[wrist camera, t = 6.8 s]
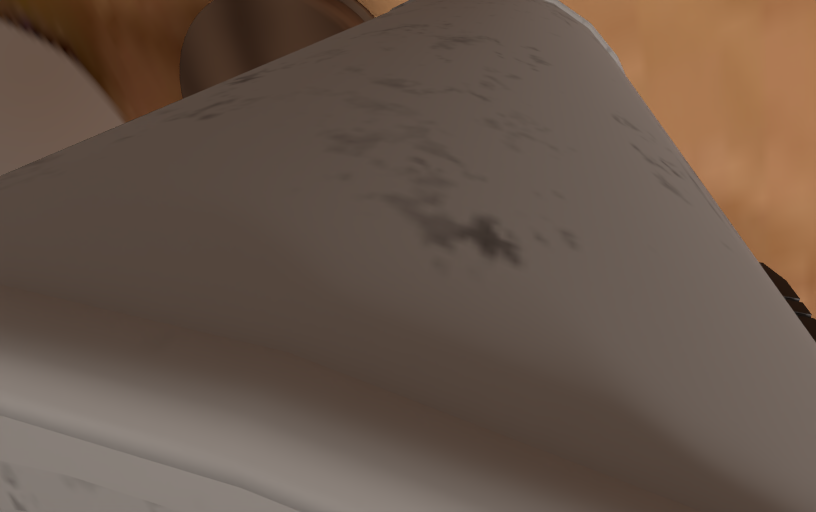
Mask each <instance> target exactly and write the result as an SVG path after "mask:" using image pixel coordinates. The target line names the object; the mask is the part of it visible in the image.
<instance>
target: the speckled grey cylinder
mask: <svg viewBox="0 0 816 512" xmlns="http://www.w3.org/2000/svg"><path fill="white" fill-rule="evenodd" d="M0 512H816V342H815V341H814V339H813V338H812V336H811V335H810V334H809V332H808V331H807V329H806V328H805V327H804V325H803V324H802V322H801V321H800V320H799V318H798V317H797V315H796V314H795V313H794V311H793V310H792V308H791V307H790V306H789V304H788V303H787V301H786V300H785V299H784V297H783V296H782V294H781V293H780V292H779V290H778V289H777V287H776V286H775V285H774V283H773V282H772V280H771V279H770V278H769V276H768V275H767V273H766V272H765V271H764V269H763V268H762V266H761V265H760V263H759V262H758V261H757V259H756V258H755V256H754V255H753V254H752V252H751V251H750V249H749V248H748V247H747V245H746V244H745V242H744V241H743V240H742V238H741V237H740V235H739V234H738V233H737V231H736V230H735V228H734V227H733V226H732V224H731V223H730V221H729V220H728V219H727V217H726V216H725V214H724V213H723V212H722V210H721V209H720V207H719V206H718V205H717V203H716V202H715V200H714V199H713V198H712V196H711V195H710V193H709V192H708V191H707V189H706V188H705V186H704V185H703V184H702V182H701V181H700V179H699V178H698V176H697V175H696V174H695V172H694V171H693V169H692V168H691V167H690V165H689V164H688V162H687V161H686V160H685V158H684V157H683V155H682V154H681V153H680V151H679V150H678V148H677V147H676V146H675V144H674V143H673V141H672V140H671V139H670V137H669V136H668V134H667V133H666V132H665V130H664V129H663V127H662V126H661V125H660V123H659V122H658V120H657V119H656V118H655V116H654V115H653V113H652V112H651V111H650V109H649V108H648V106H647V105H646V104H645V102H644V101H643V99H642V98H641V96H640V95H639V94H638V92H637V91H636V89H635V88H634V87H633V85H632V84H631V82H630V81H629V80H628V78H627V77H626V75H625V73H624V70H623V68H622V66H621V63H620V61H619V59H618V56H617V55H616V54H615V53H614V51H613V50H612V49H611V48H610V46H609V45H608V44H607V43H606V42H605V40H604V39H603V38H602V37H601V35H600V34H599V33H598V32H597V30H596V29H595V28H594V27H593V25H592V24H591V23H590V22H588V21H587V20H585V19H584V18H583V17H581V16H580V15H578V14H577V13H575V12H574V11H573V10H571V9H570V8H568V7H567V6H565V5H564V4H563V3H561V2H560V1H558V0H409V1H407V2H405V3H403V4H401V5H399V6H397V7H395V8H393V9H392V10H390V11H389V12H388V13H385V14H383V15H380V16H378V17H376V18H373V19H371V20H369V21H366V22H364V23H362V24H359V25H357V26H354V27H352V28H350V29H347V30H345V31H343V32H340V33H338V34H335V35H333V36H331V37H328V38H326V39H324V40H321V41H319V42H317V43H314V44H312V45H309V46H307V47H305V48H302V49H300V50H298V51H295V52H293V53H290V54H288V55H286V56H283V57H281V58H279V59H276V60H274V61H271V62H269V63H267V64H264V65H262V66H260V67H257V68H255V69H253V70H250V71H248V72H245V73H243V74H241V75H238V76H236V77H234V78H231V79H229V80H226V81H224V82H222V83H219V84H217V85H215V86H212V87H210V88H208V89H205V90H203V91H200V92H198V93H196V94H193V95H191V96H189V97H186V98H184V99H181V100H179V101H177V102H174V103H172V104H170V105H167V106H165V107H163V108H160V109H158V110H155V111H153V112H151V113H148V114H146V115H144V116H141V117H139V118H136V119H134V120H132V121H129V122H127V123H125V124H122V125H120V126H118V127H115V128H113V129H110V130H108V131H106V132H103V133H101V134H99V135H96V136H94V137H91V138H89V139H87V140H84V141H82V142H80V143H77V144H75V145H72V146H70V147H68V148H65V149H63V150H61V151H58V152H56V153H54V154H51V155H49V156H46V157H44V158H42V159H39V160H37V161H35V162H32V163H30V164H27V165H25V166H23V167H20V168H18V169H16V170H13V171H11V172H9V173H6V174H4V175H1V176H0Z"/></svg>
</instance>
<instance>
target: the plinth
mask: <svg viewBox="0 0 816 512" xmlns="http://www.w3.org/2000/svg"><path fill="white" fill-rule="evenodd" d="M373 18H375V17H374V16H373V15H372V14H371V13H370V12H369V11H368V10H367V9H366V8H365V7H364V6H363V5H362V4H361V3H360V2H358V1H357V0H214V1H212V2H211V3H209V4H208V5H207V6H206V7H205V8H204V9H203V10H202V11H201V12H200V13H199V14H198V15H197V16H196V18H195V19H194V21H193V22H192V24H191V25H190V27H189V29H188V32H187V34H186V36H185V39H184V43H183V46H182V50H181V58H180V84H181V91H182V96H183V99H184V98H186V97H189V96H191V95H193V94H196V93H198V92H200V91H203V90H205V89H208V88H210V87H212V86H215V85H217V84H219V83H222V82H224V81H226V80H229V79H231V78H234V77H236V76H238V75H241V74H243V73H245V72H248V71H250V70H253V69H255V68H257V67H260V66H262V65H264V64H267V63H269V62H271V61H274V60H276V59H279V58H281V57H283V56H286V55H288V54H290V53H293V52H295V51H298V50H300V49H302V48H305V47H307V46H309V45H312V44H314V43H317V42H319V41H321V40H324V39H326V38H328V37H331V36H333V35H335V34H338V33H340V32H343V31H345V30H347V29H350V28H352V27H354V26H357V25H359V24H362V23H364V22H366V21H369V20H371V19H373Z"/></svg>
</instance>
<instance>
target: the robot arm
mask: <svg viewBox="0 0 816 512" xmlns="http://www.w3.org/2000/svg"><path fill="white" fill-rule="evenodd" d="M759 263H760V262H759ZM760 265H761V266H762V268H763V269H764V271H765V272H766V273H767V275H768V276H769V278H770V279H771V280H772V282H773V283H774V285H775V286H776V287H777V289H778V290H779V292H780V293H781V294H782V296H783V297H784V299H785V300H786V301H787V303H788V304H789V306H790V307H791V308H792V310H793V311H794V313H795V314H796V315H797V317H798V318H799V320H800V321H801V322H802V324H803V325H804V327H805V328H806V329H807V331H808V332H809V334H810V335H811V336H812V338H813V339H814V341H815V342H816V320H815V319H814V318H811V315H812V314H811V313H810V312H809V310H808V309H807V308H806V306H805V305H804V304H803V303H802V302H799V300H800V298H799V297H798V296H797V294H796V293H795V292H794V290H793V289H792V288H791V286H790V285H789V284H788V282H787V281H786V280H785V279H783V278H782V277H781V276H779V275H778V274H777V273H775V272H774V271H773V270H772V269H770V268H769V267H768V266H766V265H765V264H764V263H760Z"/></svg>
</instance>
